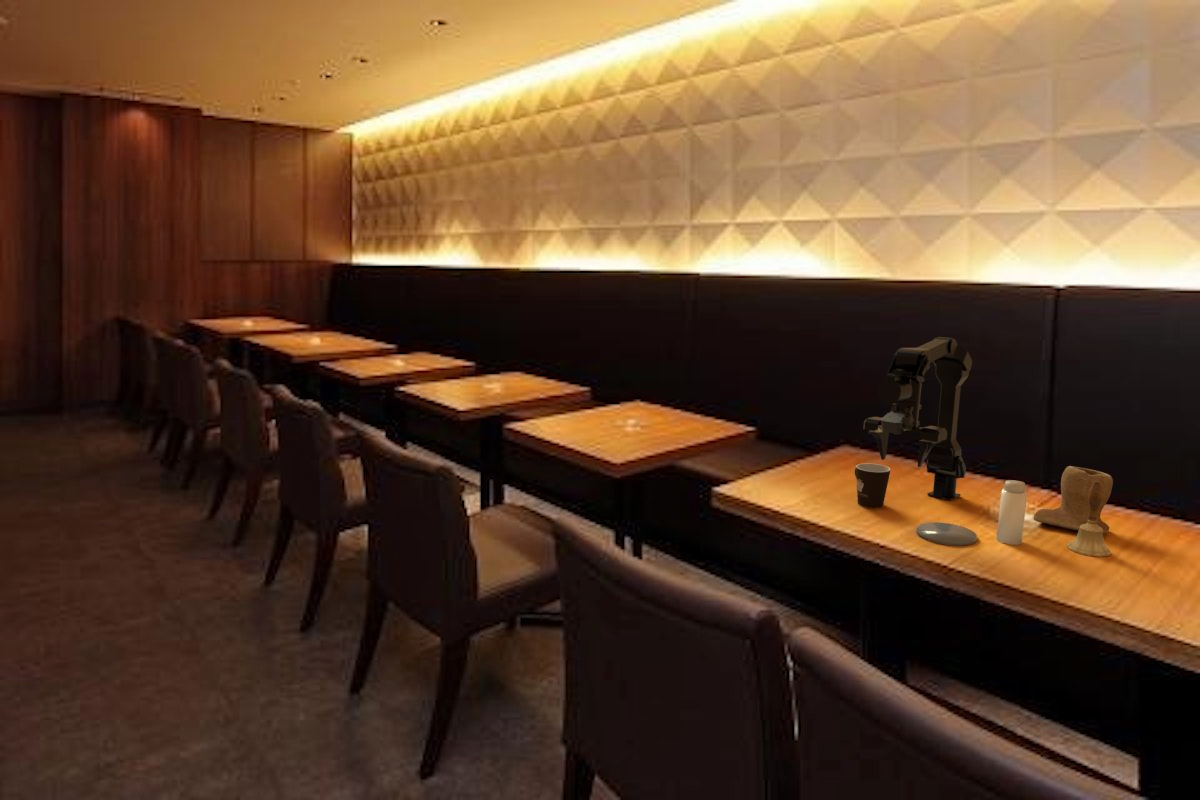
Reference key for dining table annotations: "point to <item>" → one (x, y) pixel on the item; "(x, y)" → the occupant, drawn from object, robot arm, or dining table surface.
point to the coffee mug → (871, 484)
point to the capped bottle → (1012, 512)
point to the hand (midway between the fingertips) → (900, 463)
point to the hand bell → (1091, 528)
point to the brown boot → (1077, 499)
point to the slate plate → (946, 534)
